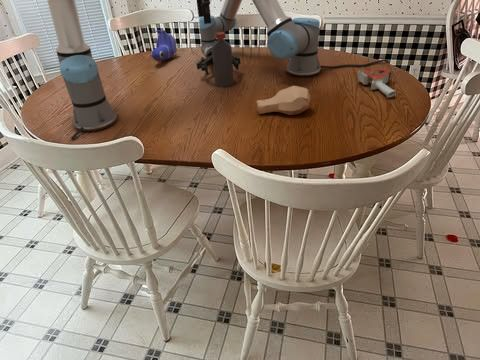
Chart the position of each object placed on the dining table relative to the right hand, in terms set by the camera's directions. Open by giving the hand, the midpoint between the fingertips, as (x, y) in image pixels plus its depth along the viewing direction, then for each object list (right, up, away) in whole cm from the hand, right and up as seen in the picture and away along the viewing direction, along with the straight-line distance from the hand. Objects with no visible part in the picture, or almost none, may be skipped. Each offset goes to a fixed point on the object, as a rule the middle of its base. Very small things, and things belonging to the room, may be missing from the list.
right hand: (222, 68), depth 155 cm
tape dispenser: (+64, -11, -9) cm, 65 cm away
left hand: (-7, +17, -10) cm, 21 cm away
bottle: (+1, -5, +4) cm, 7 cm away
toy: (-33, +15, +34) cm, 50 cm away
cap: (0, +12, -8) cm, 15 cm away
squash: (+24, -23, -23) cm, 40 cm away
